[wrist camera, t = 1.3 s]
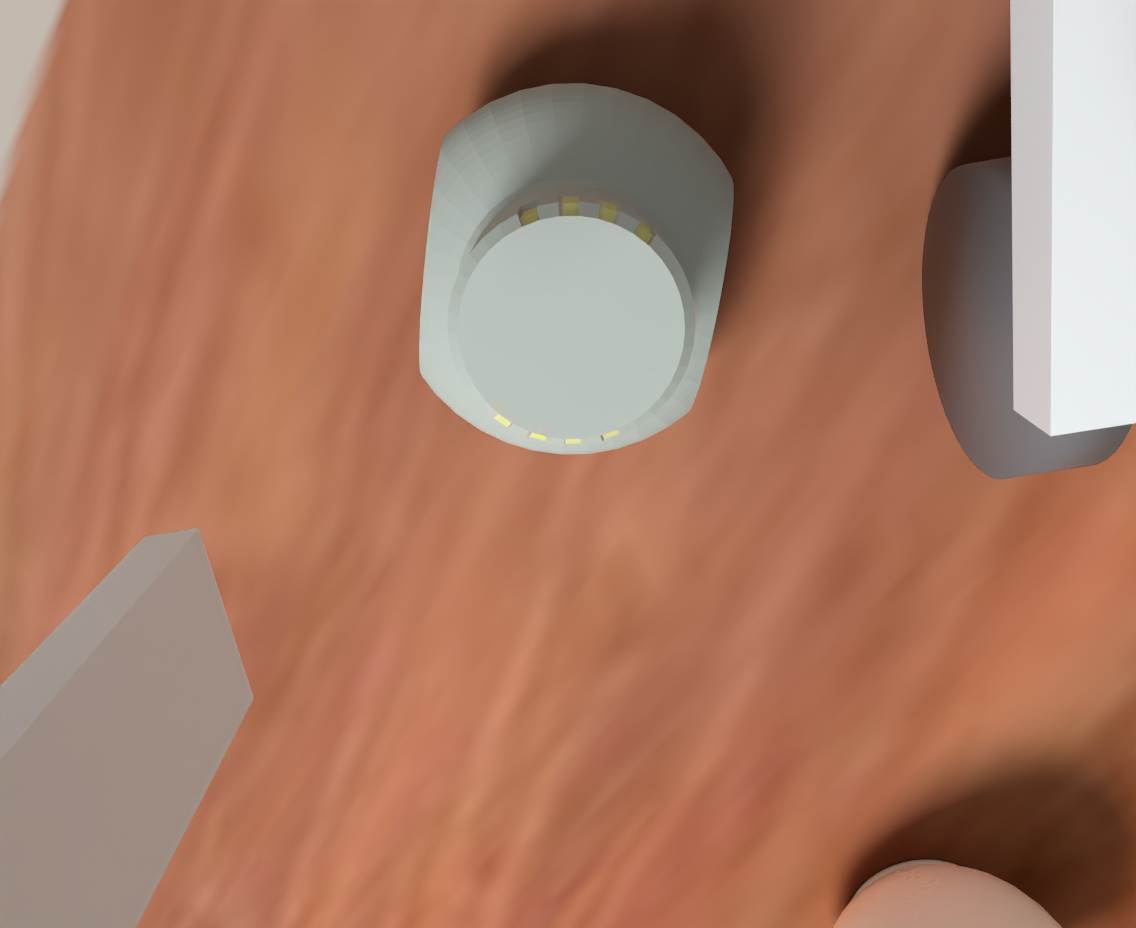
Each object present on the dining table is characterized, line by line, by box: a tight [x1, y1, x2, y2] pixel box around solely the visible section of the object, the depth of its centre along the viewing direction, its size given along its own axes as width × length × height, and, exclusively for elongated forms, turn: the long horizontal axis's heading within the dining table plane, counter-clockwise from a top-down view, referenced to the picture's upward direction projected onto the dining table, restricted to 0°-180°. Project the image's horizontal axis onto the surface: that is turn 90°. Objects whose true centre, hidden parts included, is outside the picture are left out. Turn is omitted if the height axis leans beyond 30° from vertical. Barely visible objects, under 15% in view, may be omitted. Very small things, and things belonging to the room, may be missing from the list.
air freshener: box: [419, 83, 734, 454], centre depth 27 cm, size 11×8×10 cm
